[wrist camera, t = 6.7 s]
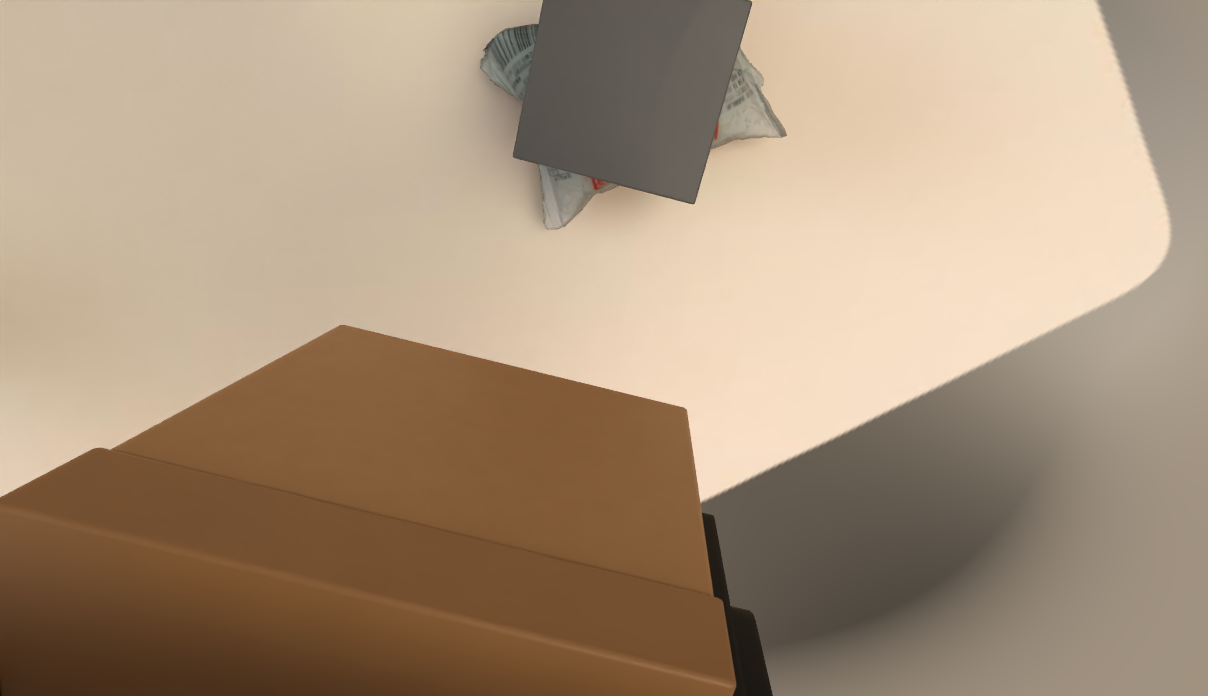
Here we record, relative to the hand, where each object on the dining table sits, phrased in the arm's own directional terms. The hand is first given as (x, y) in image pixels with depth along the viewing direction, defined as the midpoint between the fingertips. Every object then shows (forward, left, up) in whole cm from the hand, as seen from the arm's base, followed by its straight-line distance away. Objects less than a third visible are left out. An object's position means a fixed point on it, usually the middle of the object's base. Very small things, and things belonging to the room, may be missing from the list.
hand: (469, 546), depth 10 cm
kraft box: (0, 0, -1) cm, 1 cm away
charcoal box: (-8, -2, -20) cm, 22 cm away
